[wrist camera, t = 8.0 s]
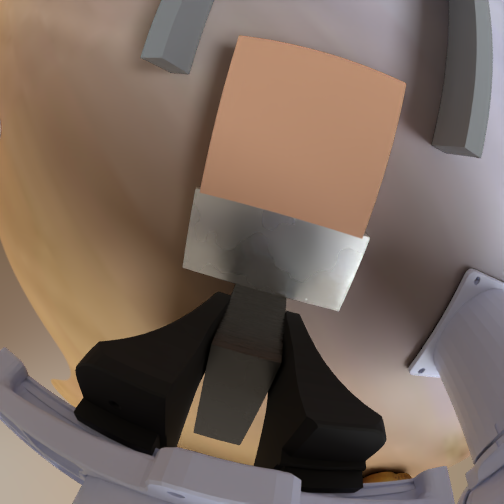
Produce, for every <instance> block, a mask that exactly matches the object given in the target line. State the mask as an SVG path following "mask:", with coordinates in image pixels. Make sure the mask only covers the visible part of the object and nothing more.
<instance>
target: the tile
mask: <svg viewBox="0 0 504 504" xmlns="http://www.w3.org/2000/svg"><path fill="white" fill-rule="evenodd" d="M405 88H406V83H404V82H402V81H400V80H398V79H396V78H393V77H391V76H389V75H387V74H384V73H382V72H379V71H377V70H375V69H372V68H369V67H367V66H364V65H361V64H359V63H356V62H353V61H350V60H347V59H344V58H341V57H338V56H335V55H332V54H328V53H325V52H321V51H318V50H314V49H310V48H306V47H302V46H298V45H293V44H289V43H284V42H279V41H274V40H268V39H262V38H255V37H248V36H240V35H239V37H238V41H237V44H236V47H235V50H234V54H233V57H232V60H231V64H230V67H229V71H228V74H227V78H226V82H225V85H224V89H223V93H222V96H221V100H220V104H219V108H218V112H217V116H216V120H215V124H214V128H213V133H212V137H211V141H210V146H209V150H208V155H207V159H206V164H205V169H204V173H203V178H202V183H201V188H200V193H203V194H207V195H211V196H215V197H219V198H223V199H227V200H231V201H235V202H238V203H242V204H246V205H250V206H253V207H257V208H261V209H264V210H268V211H272V212H275V213H279V214H282V215H286V216H289V217H293V218H296V219H300V220H303V221H306V222H310V223H313V224H316V225H320V226H323V227H326V228H329V229H333V230H336V231H339V232H342V233H345V234H349V235H352V236H355V237H358V238H361V239H362V238H363V235H364V233H365V230H366V227H367V224H368V222H369V219H370V216H371V213H372V210H373V207H374V204H375V201H376V198H377V195H378V192H379V189H380V186H381V183H382V180H383V176H384V173H385V170H386V166H387V163H388V159H389V156H390V152H391V148H392V145H393V141H394V137H395V133H396V129H397V125H398V121H399V117H400V112H401V108H402V103H403V98H404V93H405Z"/></svg>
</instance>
